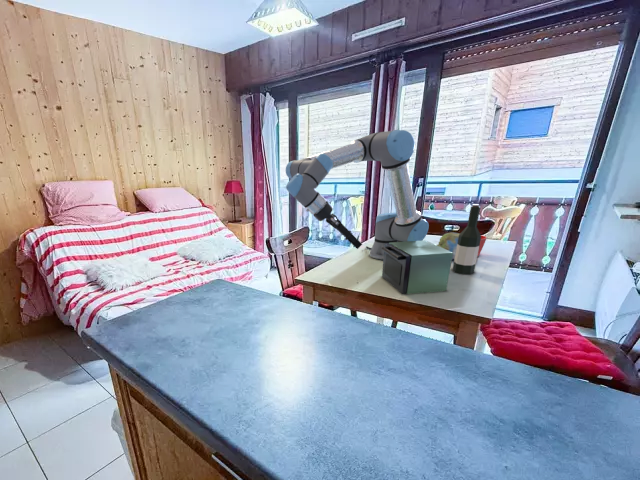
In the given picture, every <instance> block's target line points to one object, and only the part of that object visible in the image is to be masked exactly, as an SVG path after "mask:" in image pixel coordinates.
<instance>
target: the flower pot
mask: <svg viewBox="0 0 640 480" xmlns="http://www.w3.org/2000/svg"><path fill="white" fill-rule="evenodd" d="M480 235H481V241H480V245H479V250H478V255H477V257H479V256H480V254H481V252H482V250H483V248H484V246H485V243H486V241H487V236H486V235H482V234H480Z"/></svg>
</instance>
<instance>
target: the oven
mask: <svg viewBox="0 0 640 480" xmlns="http://www.w3.org/2000/svg"><path fill="white" fill-rule="evenodd" d="M389 244H391V245H392V246H394V247H396V248H398V249H399V250H401V251H403V252H404V253H406V254H408V255H410V265H409V273H408V282H407V291H406V295H410V294H411V295H412V294H425V293H436V292H447V288H448V281H449V278H450V277H449V276H450V271H451V266H452V260H453V259H452V255H453V253H452V252H450V251H448V250H446V249H444V248H441V247H439V246H437V245H438V244H434V243H432V242H430V241H428V240H426V239H423V240H421V241H406V242H391V243H389Z"/></svg>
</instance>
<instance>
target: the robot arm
mask: <svg viewBox="0 0 640 480" xmlns="http://www.w3.org/2000/svg"><path fill="white" fill-rule="evenodd" d="M415 145H416V144H415V138H414V136H413V135H412V134H411V132H409V131H408V130H405V129H394V130H388V131H387V130H386V131H379V132H378V131H377V132H374V133H370V134H368V135H364V136H363V137H359V138H357V139H354V140H352V141H350V143H349V144H345V145H343V146H340V147H336V148H333V149H330V150H327V151H323V152H320V153H317V154H314V155H311V156H307V157H305V158H302V159H298V160H297V159H294V160H291V161H289V162H288V163H287V164H286V166H285V175H286V177H287V178H289V181H288V182H287V184H286V187H285V189H286V191H287V192H288V193H289V194H290V195H291V196H292V198H294V199H295V200H296V201H297V202H298V203H300V204H301V205H302V206H303V207H304V208H305V209H306V210H305V212H306V213H308V212H309V213H310V214H311V215H313V217H314V218H315V219H316V220H317V221H318V222H323V221H324V220H325V222H326V223H327V224H328V225H330V226H331V227H332V228H334V229H335V230H337V231H338V232H339V233H340V234H341V236H343V237H344V240H345V241H348V242H349V243H350V244H351V245H352V246H353V247H354V248H356V249H357V250H358V249H359V248H360V247H361V246H363V243H362V242H361V241H360V240H359V239H358V238H357V237H356V236H355V235H354V234H353V233H352V231H351V230H349V229H348V228H347V227H346V226H345V225H344V224H343V223H342V221H341V220H340V219H339V218H338V216H337V215H336V214H334V213H332V212H333V210H334V206H333V205H332V204H331V203H330V202H329V201H327V199H326V198H325V197H324V196H323V195H322V194H321V193H320V192H319V191H318V190H317V189H318V187H319V185H320V184H321V183H322V182H323V180H325V178H326V177H327V176H328V175H329V173H330V172H331V170H333V169H335V168H339V167H342V166H344V165H349V164H350V163H355V164H357V163H361V162H380V165H381V169H383V170H384V171H386V174H387V179H388V184H389V188H390V193H391V196H392V202H393V205H394V209H395V212H385V213H380V214H378V215H377V216H376V219H375V225H374V226H375V227H374V231H375V232H374V242H373V244H372V247H369V246H365V248H366V249H367V250H369V257H370V258H371V259H375V260H379V261H380V260H381V261H383V258H384V251H383V250H382V247H384V246H385V243H391V242H398V240H399V241H403V242H406V241H421V240H425V238H426V236H427V234H428V233H429V229H430V228H429V226H430V225H429V222H428V221H427V220H426V219H423V218H422V213H421V212H420V211H418V210H417V207H416V201H415V197H414V192H413V186H412V185H413V184H412V181H411V175H410V170H409V162H410V161H411V160H412V159H411V158H412V156H413V154H414V153H415V150H414V149H415V148H416V146H415Z"/></svg>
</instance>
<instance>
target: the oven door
mask: <svg viewBox="0 0 640 480" xmlns="http://www.w3.org/2000/svg"><path fill="white" fill-rule="evenodd" d="M382 250H383V251H384V258H383V260H382V271H381V277H382V278H383V279H384V280H385V281H386V282H387V283H389V284H390V285H391V286H392V287H393V288H395V289H396V290H397V291H398V292H400V293H401V295H405V294H406V295H407V293H406V291H407V282H408V273H409V265H410V255H408V254H406V253H404V252H403V251H401V250H399V249H398V248H396V247H394V246H392V245H391V244H389V243H385V246H384V247H382Z"/></svg>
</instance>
